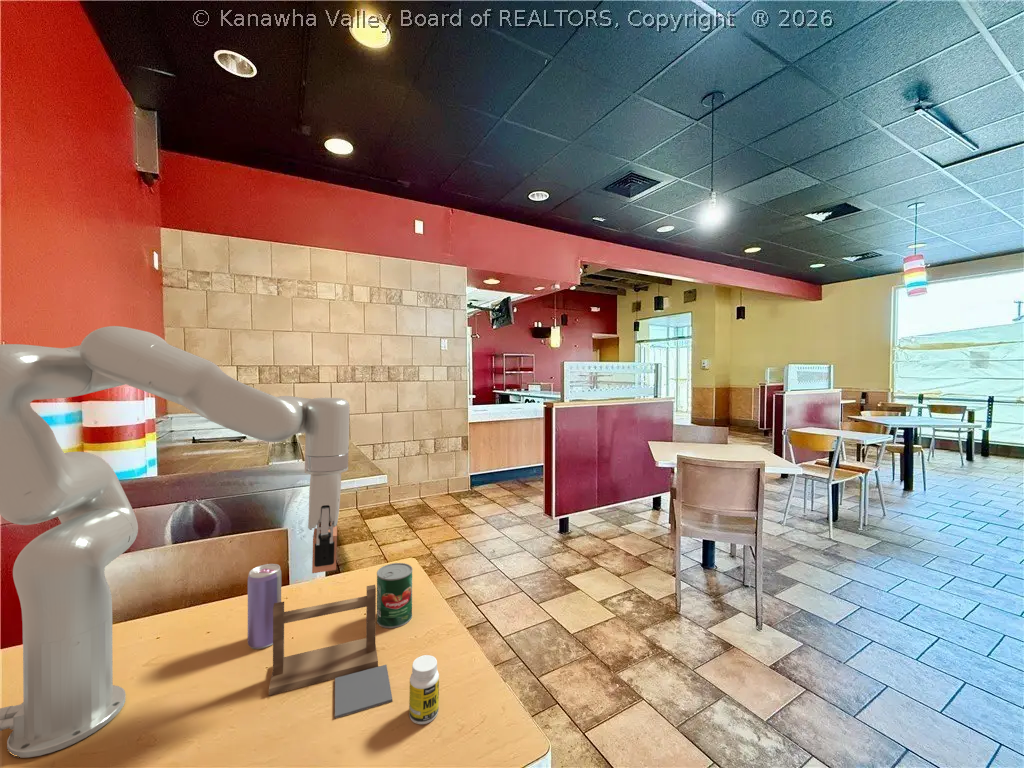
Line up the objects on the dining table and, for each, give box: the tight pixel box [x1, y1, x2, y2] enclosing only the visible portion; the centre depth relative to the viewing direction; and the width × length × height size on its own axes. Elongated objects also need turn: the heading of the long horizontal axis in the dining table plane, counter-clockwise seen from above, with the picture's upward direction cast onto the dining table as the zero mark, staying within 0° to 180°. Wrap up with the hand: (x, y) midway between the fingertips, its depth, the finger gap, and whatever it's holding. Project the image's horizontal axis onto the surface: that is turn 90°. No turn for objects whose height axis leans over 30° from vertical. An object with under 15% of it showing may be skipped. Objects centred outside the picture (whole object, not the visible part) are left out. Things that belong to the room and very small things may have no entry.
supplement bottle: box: [408, 654, 440, 725], centre depth 66 cm, size 5×5×8 cm
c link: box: [311, 525, 338, 574], centre depth 77 cm, size 4×5×6 cm
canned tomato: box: [376, 562, 413, 629], centre depth 93 cm, size 8×8×11 cm
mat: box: [334, 664, 393, 719], centre depth 71 cm, size 9×9×1 cm
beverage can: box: [247, 563, 282, 650], centre depth 84 cm, size 6×6×15 cm
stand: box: [268, 584, 379, 696], centre depth 77 cm, size 18×8×14 cm, turn 114°
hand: (324, 557), depth 77 cm, fingers closed on c link, 5 cm apart
